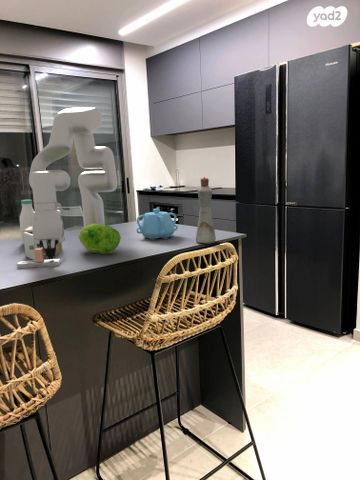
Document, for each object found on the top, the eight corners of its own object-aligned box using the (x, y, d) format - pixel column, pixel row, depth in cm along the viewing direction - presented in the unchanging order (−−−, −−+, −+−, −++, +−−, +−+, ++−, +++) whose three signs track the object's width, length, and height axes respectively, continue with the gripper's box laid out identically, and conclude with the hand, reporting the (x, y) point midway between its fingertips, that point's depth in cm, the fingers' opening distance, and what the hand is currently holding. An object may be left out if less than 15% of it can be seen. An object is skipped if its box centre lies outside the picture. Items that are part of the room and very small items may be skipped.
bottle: (191, 243, 167) (190, 177, 162) (200, 239, 175) (199, 176, 169) (210, 245, 163) (209, 177, 158) (218, 241, 171) (218, 176, 165)
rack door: (38, 261, 144) (35, 234, 142) (32, 262, 142) (29, 235, 140) (27, 255, 153) (24, 230, 151) (21, 256, 152) (19, 231, 150)
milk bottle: (34, 245, 174) (29, 200, 170) (18, 245, 176) (13, 200, 172) (43, 241, 182) (38, 198, 178) (28, 241, 183) (23, 199, 179)
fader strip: (60, 262, 142) (60, 258, 142) (58, 265, 138) (58, 261, 138) (20, 265, 140) (19, 261, 139) (17, 268, 136) (16, 264, 136)
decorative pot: (154, 233, 195) (153, 206, 192) (181, 235, 186) (180, 207, 183) (133, 239, 182) (131, 210, 179) (161, 242, 173) (159, 211, 170)
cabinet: (62, 249, 165) (59, 224, 163) (58, 254, 155) (56, 228, 153) (32, 250, 163) (29, 226, 161) (27, 256, 153) (24, 230, 151)
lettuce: (97, 246, 168) (95, 219, 166) (129, 254, 152) (127, 224, 149) (70, 251, 159) (68, 223, 157) (101, 260, 143) (98, 229, 141)
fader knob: (44, 259, 140) (43, 247, 139) (42, 261, 137) (41, 248, 136) (37, 259, 140) (35, 247, 139) (35, 262, 137) (34, 249, 136)
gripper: (69, 205, 140) (73, 254, 144) (25, 207, 138) (31, 257, 141) (66, 207, 133) (71, 259, 137) (20, 209, 131) (26, 262, 134)
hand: (51, 258), depth 139 cm, fingers closed
